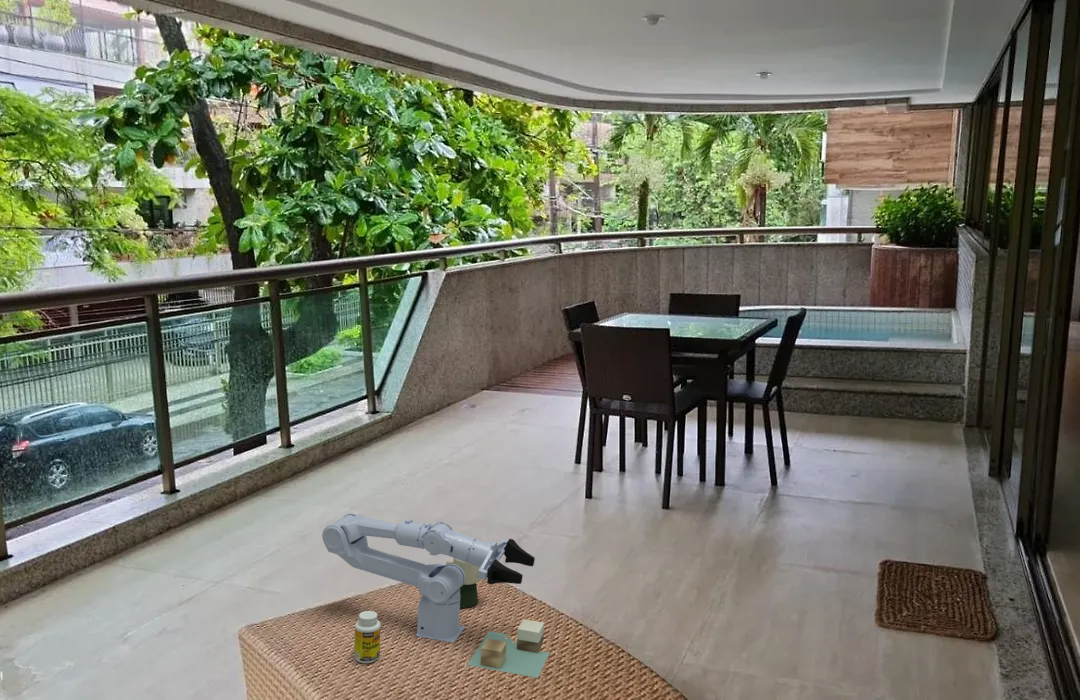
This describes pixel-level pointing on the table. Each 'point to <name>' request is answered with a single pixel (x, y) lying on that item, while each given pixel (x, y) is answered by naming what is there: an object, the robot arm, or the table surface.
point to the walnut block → (529, 645)
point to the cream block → (530, 631)
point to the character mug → (468, 583)
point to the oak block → (493, 653)
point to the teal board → (513, 658)
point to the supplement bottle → (367, 637)
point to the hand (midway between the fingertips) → (527, 570)
